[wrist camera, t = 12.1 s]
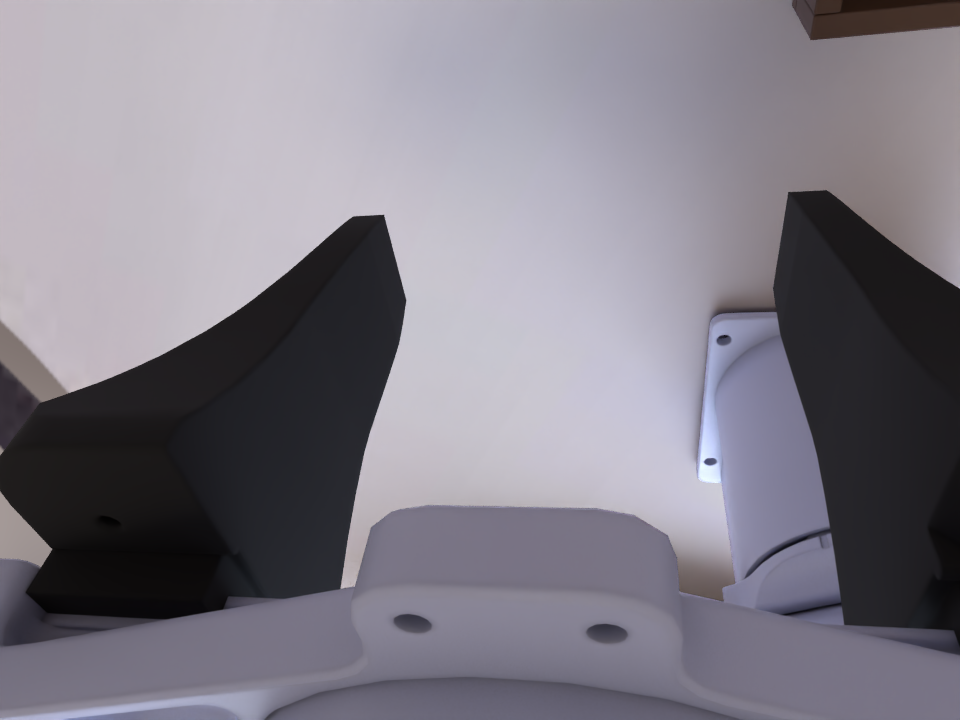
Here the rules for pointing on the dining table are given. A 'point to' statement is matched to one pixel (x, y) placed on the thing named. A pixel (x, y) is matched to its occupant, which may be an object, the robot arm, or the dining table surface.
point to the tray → (874, 16)
